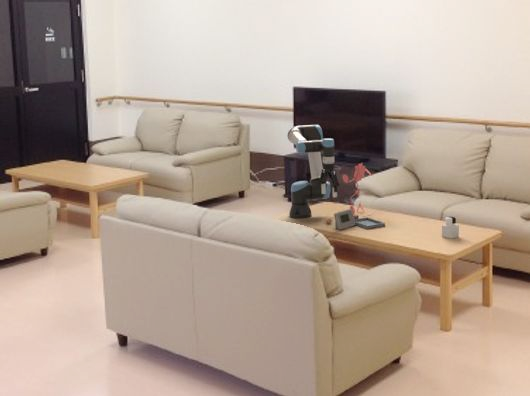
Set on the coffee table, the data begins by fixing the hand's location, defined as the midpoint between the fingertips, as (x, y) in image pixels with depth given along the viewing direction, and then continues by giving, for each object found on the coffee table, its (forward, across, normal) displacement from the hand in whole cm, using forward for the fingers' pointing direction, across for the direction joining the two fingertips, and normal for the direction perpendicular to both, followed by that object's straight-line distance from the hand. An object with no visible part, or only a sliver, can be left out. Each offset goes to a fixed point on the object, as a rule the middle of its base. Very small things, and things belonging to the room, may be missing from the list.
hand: (329, 195), depth 506 cm
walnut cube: (+19, +3, +17) cm, 26 cm away
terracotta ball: (+19, -1, 0) cm, 19 cm away
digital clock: (+19, +13, +3) cm, 23 cm away
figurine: (+19, -11, +32) cm, 38 cm away
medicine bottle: (+20, +69, +42) cm, 83 cm away
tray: (+19, +16, +18) cm, 31 cm away
